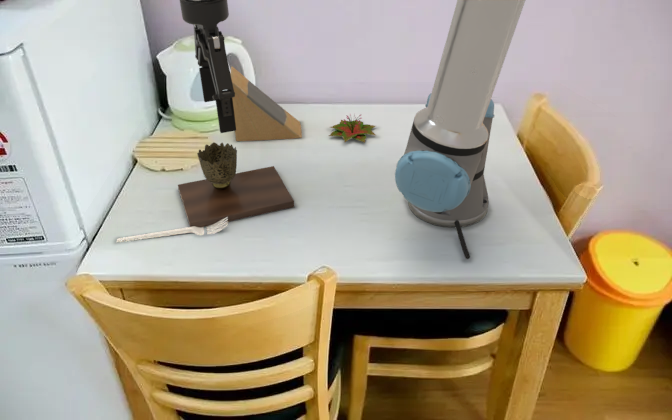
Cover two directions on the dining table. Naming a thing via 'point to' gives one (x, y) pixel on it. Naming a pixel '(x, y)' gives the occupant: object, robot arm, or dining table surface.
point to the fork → (178, 232)
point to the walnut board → (235, 197)
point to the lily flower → (352, 130)
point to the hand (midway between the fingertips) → (219, 115)
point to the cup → (218, 164)
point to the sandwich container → (260, 114)
